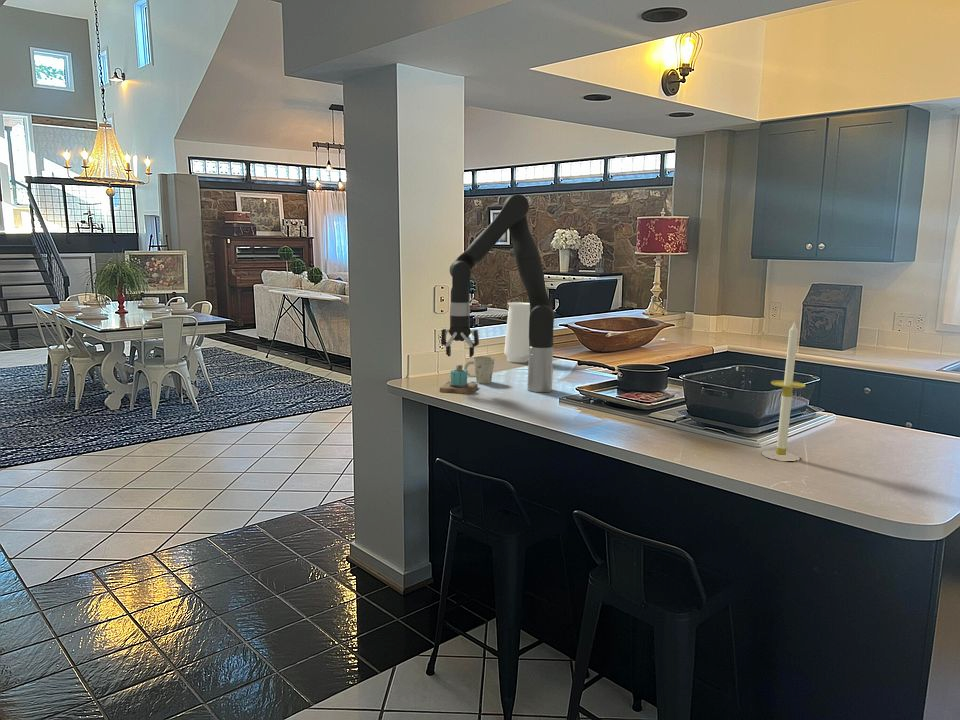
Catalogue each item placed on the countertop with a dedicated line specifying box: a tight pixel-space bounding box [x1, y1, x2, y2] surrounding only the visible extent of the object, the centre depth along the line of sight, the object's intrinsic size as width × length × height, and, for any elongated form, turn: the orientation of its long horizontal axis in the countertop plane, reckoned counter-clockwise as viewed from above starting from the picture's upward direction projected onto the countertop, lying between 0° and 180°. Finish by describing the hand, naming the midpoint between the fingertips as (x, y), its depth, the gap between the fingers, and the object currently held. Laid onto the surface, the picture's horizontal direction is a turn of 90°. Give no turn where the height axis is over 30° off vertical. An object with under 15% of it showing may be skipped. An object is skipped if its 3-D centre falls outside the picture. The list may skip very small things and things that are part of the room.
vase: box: [503, 301, 531, 364], centre depth 324 cm, size 13×13×28 cm
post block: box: [439, 364, 479, 395], centre depth 258 cm, size 12×12×10 cm
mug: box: [463, 355, 496, 384], centre depth 274 cm, size 8×13×10 cm, turn 78°
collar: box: [450, 369, 468, 385], centre depth 258 cm, size 6×6×5 cm
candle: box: [770, 320, 806, 455], centre depth 181 cm, size 10×10×38 cm
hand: (459, 356), depth 257 cm, fingers open, 8 cm apart
